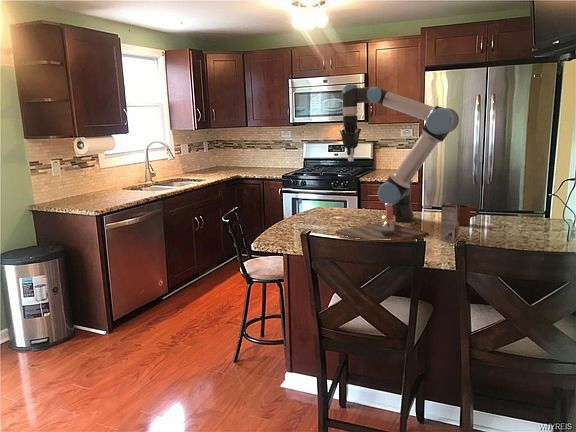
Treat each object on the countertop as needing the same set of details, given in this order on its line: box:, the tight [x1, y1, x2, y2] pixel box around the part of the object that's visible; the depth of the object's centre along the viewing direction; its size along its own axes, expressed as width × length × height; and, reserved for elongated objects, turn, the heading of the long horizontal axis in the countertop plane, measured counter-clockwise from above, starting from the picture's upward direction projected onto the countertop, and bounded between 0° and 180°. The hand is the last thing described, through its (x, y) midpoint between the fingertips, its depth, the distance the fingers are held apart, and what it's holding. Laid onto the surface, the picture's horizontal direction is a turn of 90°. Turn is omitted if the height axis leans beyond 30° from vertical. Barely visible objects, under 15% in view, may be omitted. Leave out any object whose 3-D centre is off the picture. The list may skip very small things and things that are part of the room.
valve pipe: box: [381, 213, 396, 236], centre depth 220 cm, size 23×6×10 cm, turn 167°
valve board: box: [335, 221, 430, 241], centre depth 219 cm, size 31×30×2 cm
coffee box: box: [439, 201, 461, 243], centre depth 206 cm, size 9×6×16 cm
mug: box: [459, 204, 480, 227], centre depth 232 cm, size 12×8×9 cm, turn 82°
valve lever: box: [384, 203, 393, 220], centre depth 210 cm, size 22×3×4 cm, turn 170°
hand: (350, 161), depth 245 cm, fingers closed
